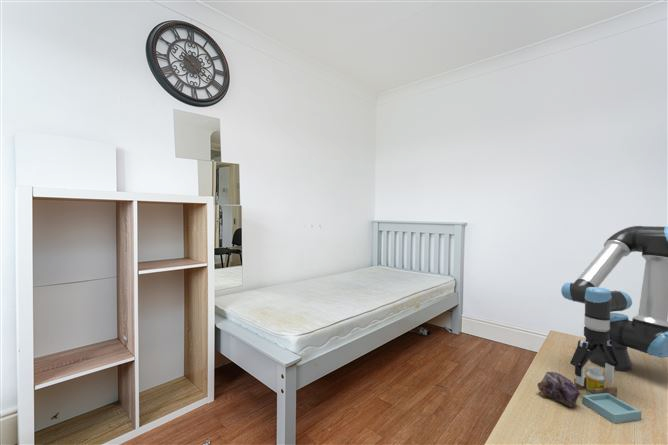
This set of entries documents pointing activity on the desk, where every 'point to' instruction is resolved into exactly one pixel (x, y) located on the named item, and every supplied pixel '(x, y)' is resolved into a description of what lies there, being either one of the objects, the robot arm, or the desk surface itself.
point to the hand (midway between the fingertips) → (594, 382)
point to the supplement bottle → (594, 379)
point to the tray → (611, 407)
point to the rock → (559, 389)
